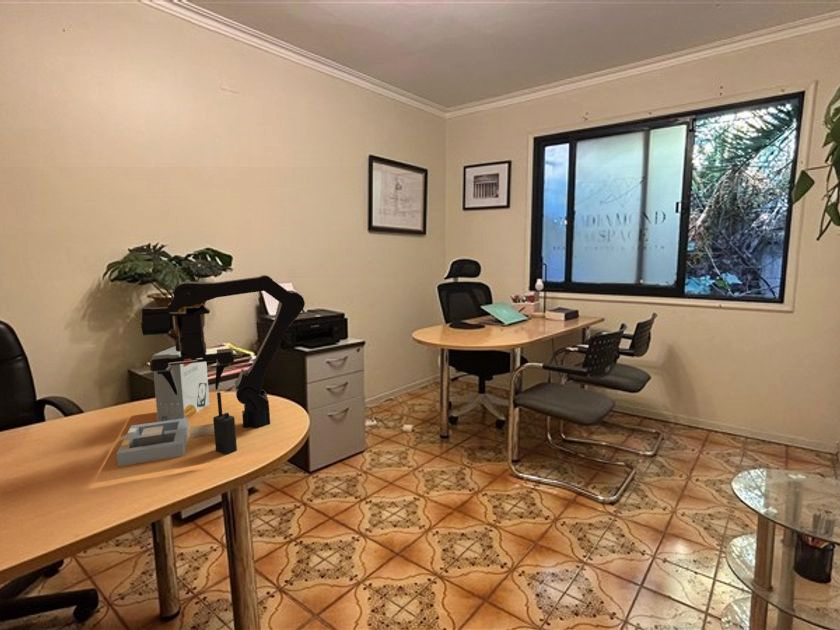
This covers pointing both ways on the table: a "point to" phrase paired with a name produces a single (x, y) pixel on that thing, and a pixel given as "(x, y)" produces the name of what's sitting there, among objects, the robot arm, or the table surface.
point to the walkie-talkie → (224, 431)
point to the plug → (153, 436)
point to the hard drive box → (181, 389)
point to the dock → (172, 447)
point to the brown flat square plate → (202, 430)
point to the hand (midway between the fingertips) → (197, 391)
